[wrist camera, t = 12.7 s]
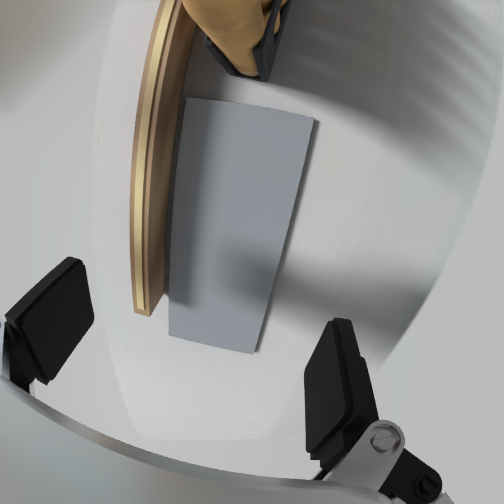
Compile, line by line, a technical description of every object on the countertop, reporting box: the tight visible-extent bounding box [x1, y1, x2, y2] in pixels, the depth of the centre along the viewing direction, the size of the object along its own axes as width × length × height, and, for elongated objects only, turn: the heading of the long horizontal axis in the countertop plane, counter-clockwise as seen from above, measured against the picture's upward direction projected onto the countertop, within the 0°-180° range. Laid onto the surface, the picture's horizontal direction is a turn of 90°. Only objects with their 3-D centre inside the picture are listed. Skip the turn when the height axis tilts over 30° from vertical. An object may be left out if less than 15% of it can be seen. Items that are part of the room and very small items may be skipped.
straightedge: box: [130, 0, 197, 317], centre depth 11 cm, size 22×1×3 cm, turn 170°
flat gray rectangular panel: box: [169, 97, 314, 354], centre depth 15 cm, size 15×6×1 cm, turn 169°
